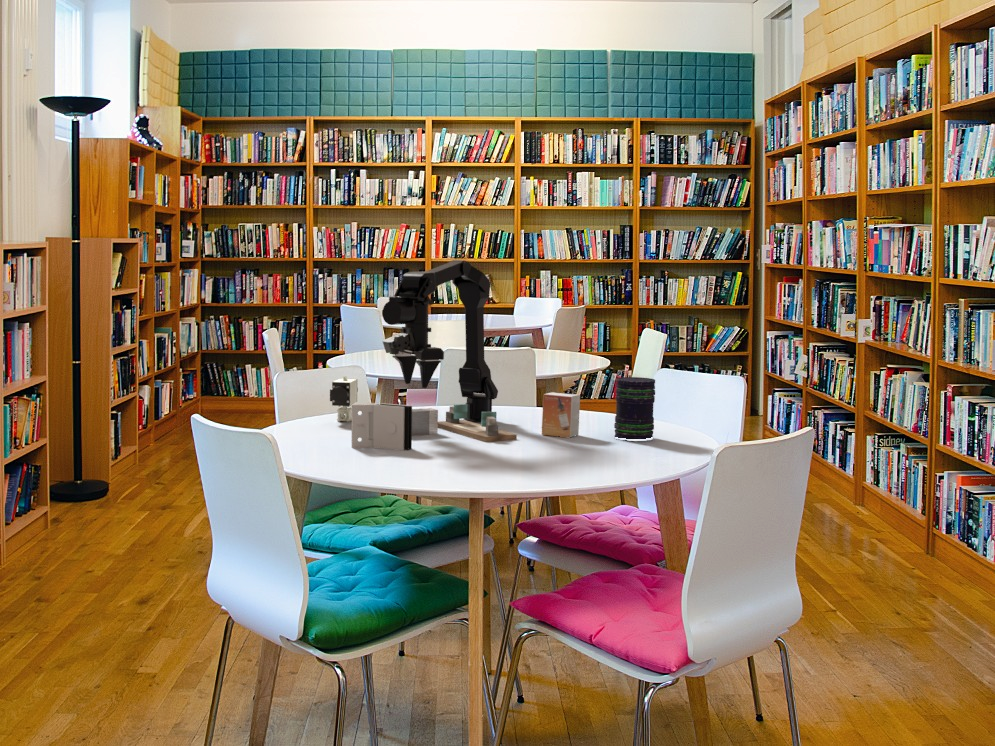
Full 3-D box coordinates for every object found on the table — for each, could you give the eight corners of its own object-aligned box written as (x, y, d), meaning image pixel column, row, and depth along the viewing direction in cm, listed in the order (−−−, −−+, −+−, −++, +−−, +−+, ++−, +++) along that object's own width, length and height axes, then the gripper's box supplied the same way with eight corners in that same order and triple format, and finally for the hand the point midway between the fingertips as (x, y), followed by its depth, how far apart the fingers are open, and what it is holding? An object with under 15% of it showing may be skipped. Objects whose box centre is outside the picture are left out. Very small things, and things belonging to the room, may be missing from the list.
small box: (541, 435, 270) (542, 394, 269) (550, 432, 275) (551, 391, 274) (570, 438, 266) (571, 396, 265) (579, 435, 271) (580, 394, 270)
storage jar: (652, 442, 262) (654, 382, 260) (612, 440, 264) (614, 380, 262) (654, 436, 272) (656, 378, 270) (615, 434, 274) (617, 376, 272)
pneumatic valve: (358, 418, 292) (358, 374, 291) (348, 424, 281) (348, 379, 279) (338, 417, 293) (338, 373, 291) (327, 423, 281) (327, 378, 280)
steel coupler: (430, 431, 272) (430, 408, 272) (437, 433, 269) (438, 410, 268) (395, 434, 267) (395, 410, 266) (402, 436, 264) (402, 412, 263)
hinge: (350, 448, 247) (350, 404, 246) (357, 444, 252) (357, 402, 251) (408, 450, 245) (409, 407, 244) (414, 447, 250) (415, 404, 249)
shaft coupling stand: (463, 424, 285) (463, 400, 284) (516, 439, 263) (517, 413, 262) (433, 426, 280) (434, 402, 280) (485, 441, 258) (485, 416, 258)
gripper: (371, 321, 269) (370, 383, 271) (404, 326, 253) (403, 391, 255) (410, 320, 275) (410, 381, 277) (445, 325, 259) (444, 389, 261)
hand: (415, 385), depth 267 cm, fingers open, 9 cm apart
